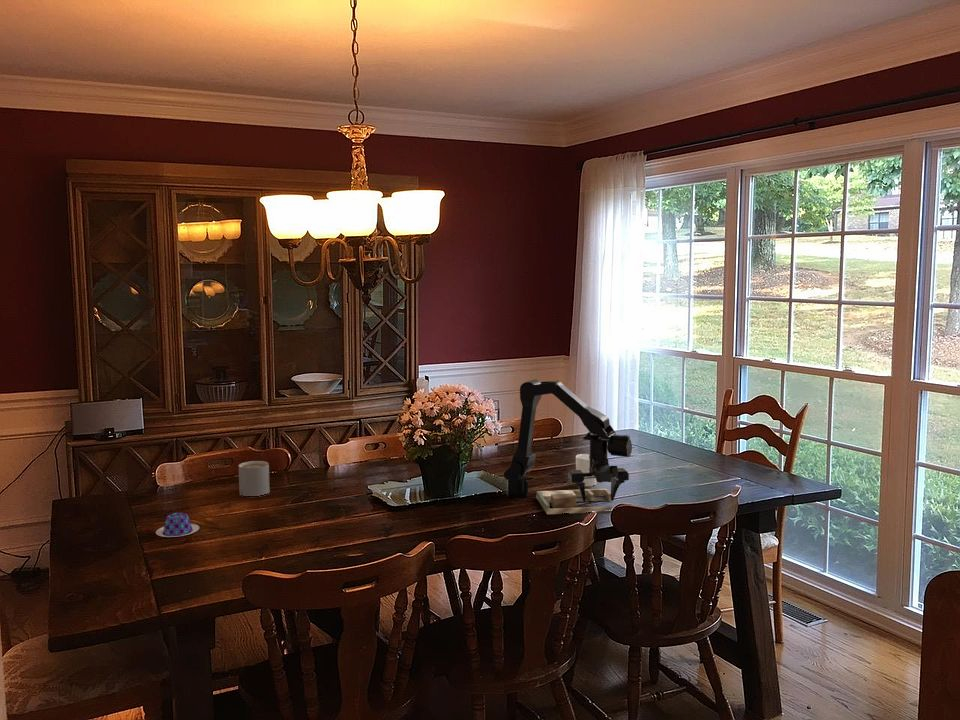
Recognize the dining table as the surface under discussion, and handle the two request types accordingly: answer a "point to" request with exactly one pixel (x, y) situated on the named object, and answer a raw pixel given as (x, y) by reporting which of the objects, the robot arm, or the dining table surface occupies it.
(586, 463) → the white cup
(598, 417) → the robot arm
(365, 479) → the dining table surface
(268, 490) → the coffee mug
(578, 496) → the trap lane
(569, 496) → the walnut block
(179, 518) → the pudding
